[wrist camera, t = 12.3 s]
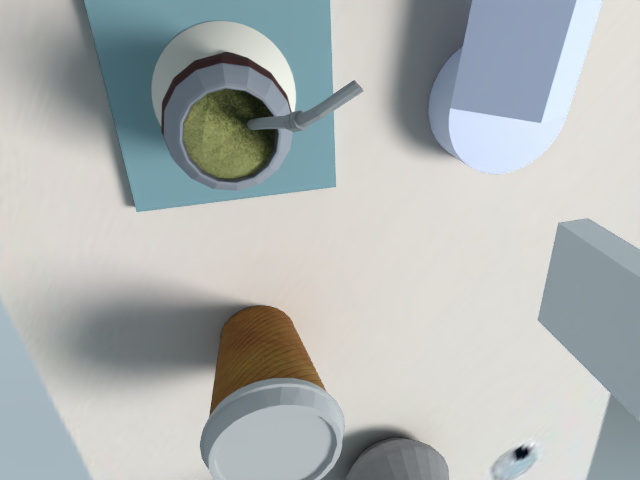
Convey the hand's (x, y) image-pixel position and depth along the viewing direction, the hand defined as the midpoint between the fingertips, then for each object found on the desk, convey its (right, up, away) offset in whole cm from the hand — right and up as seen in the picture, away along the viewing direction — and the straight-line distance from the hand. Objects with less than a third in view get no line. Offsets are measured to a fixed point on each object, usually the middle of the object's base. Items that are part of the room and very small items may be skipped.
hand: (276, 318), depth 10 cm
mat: (-5, +11, +21) cm, 25 cm away
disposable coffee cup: (-4, -6, +31) cm, 32 cm away
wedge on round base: (+13, +14, +25) cm, 31 cm away
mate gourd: (-5, +11, +21) cm, 24 cm away
